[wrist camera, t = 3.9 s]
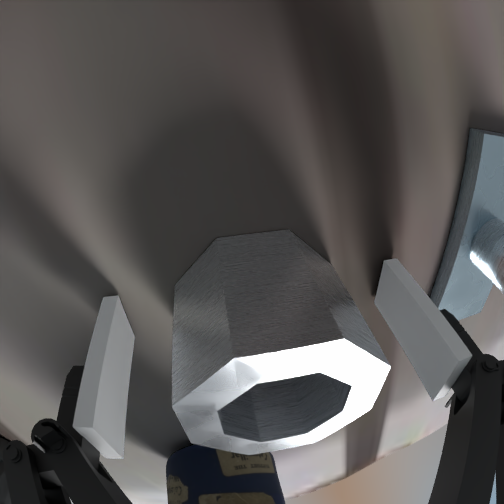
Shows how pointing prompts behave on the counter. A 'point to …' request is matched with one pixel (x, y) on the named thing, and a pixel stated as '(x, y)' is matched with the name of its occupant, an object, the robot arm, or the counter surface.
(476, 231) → the shaft stand
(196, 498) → the canister
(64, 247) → the counter surface
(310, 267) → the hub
